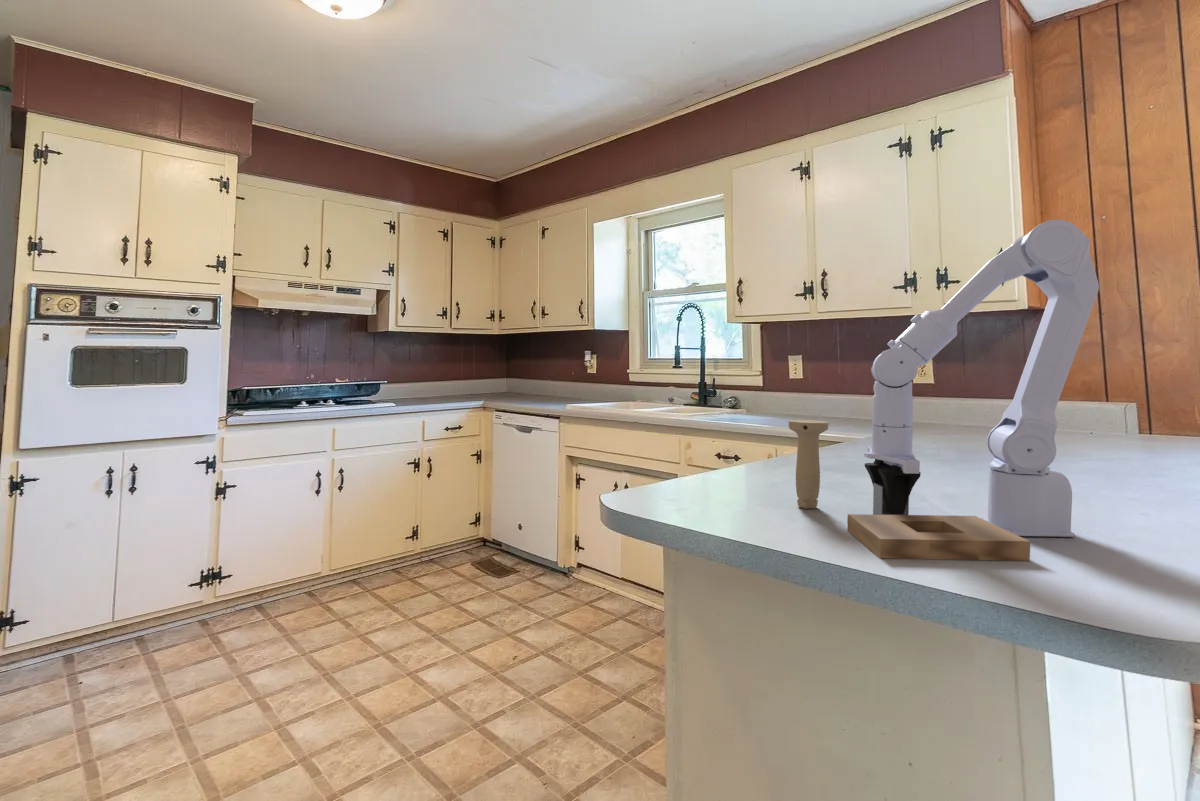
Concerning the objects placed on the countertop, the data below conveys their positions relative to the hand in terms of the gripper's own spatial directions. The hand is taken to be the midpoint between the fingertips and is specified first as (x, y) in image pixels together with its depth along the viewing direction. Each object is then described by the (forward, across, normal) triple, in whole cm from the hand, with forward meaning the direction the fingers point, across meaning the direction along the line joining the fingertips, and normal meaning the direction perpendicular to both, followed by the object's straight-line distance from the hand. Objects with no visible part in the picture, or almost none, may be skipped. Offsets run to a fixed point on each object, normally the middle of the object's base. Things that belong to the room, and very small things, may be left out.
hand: (890, 510), depth 90 cm
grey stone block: (+1, 0, 0) cm, 1 cm away
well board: (+1, +13, 0) cm, 13 cm away
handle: (+2, -7, -11) cm, 13 cm away
